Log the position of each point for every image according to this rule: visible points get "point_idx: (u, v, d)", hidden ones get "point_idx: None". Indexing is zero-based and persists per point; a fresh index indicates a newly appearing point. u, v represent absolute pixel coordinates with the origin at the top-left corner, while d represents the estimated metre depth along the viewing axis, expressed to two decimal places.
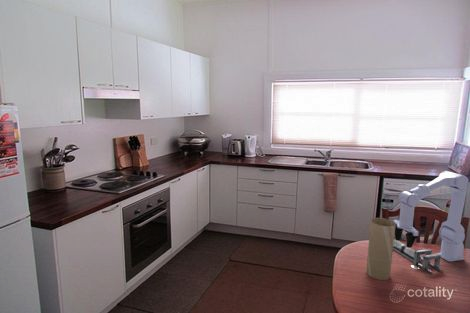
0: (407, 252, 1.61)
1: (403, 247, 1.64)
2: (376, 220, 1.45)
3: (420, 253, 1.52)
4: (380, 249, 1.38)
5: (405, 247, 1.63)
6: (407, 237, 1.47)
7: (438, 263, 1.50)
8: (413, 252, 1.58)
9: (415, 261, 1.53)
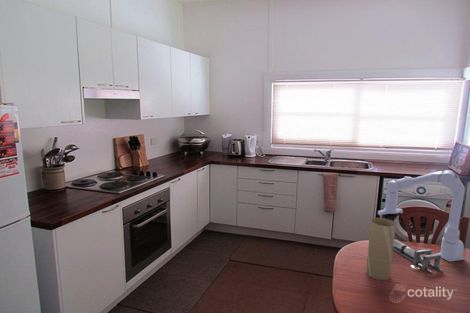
0: (407, 252, 1.61)
1: (403, 247, 1.64)
2: (376, 220, 1.45)
3: (420, 253, 1.52)
4: (380, 249, 1.38)
5: (405, 247, 1.63)
6: None
7: (438, 263, 1.50)
8: (413, 252, 1.58)
9: (415, 261, 1.53)
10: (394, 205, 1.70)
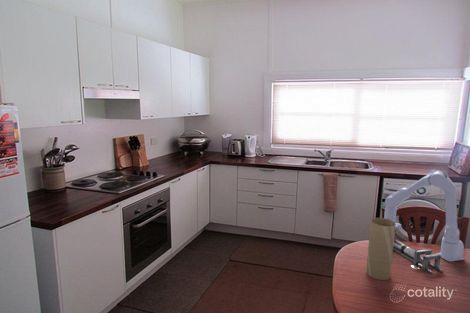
0: (407, 252, 1.61)
1: (403, 247, 1.64)
2: (376, 220, 1.45)
3: (420, 253, 1.52)
4: (380, 249, 1.38)
5: (405, 247, 1.63)
6: None
7: (438, 263, 1.50)
8: (413, 252, 1.58)
9: (415, 261, 1.53)
10: (393, 220, 1.71)
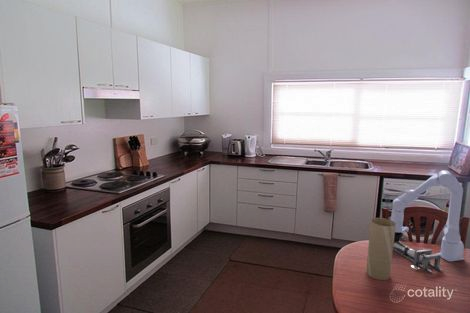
0: (410, 254, 1.59)
1: (406, 249, 1.62)
2: (376, 220, 1.45)
3: (420, 253, 1.52)
4: (380, 249, 1.38)
5: (408, 249, 1.61)
6: None
7: (438, 263, 1.50)
8: None
9: (415, 261, 1.53)
10: (400, 224, 1.67)
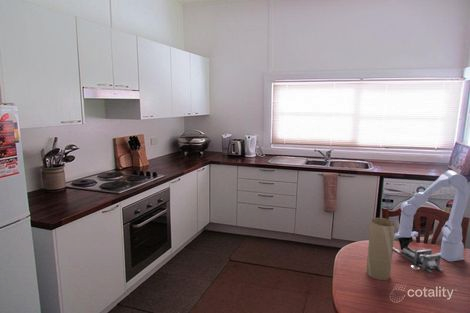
0: (421, 260, 1.53)
1: None
2: (376, 220, 1.45)
3: (420, 253, 1.52)
4: (380, 249, 1.38)
5: None
6: None
7: (438, 263, 1.50)
8: (428, 260, 1.50)
9: (415, 261, 1.53)
10: (409, 228, 1.61)
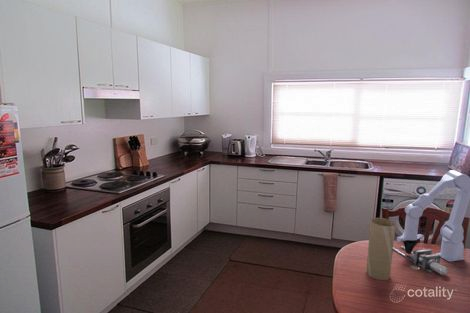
0: (431, 266, 1.48)
1: None
2: (376, 220, 1.45)
3: (420, 253, 1.52)
4: (380, 249, 1.38)
5: (428, 260, 1.50)
6: None
7: None
8: (439, 266, 1.45)
9: (415, 261, 1.53)
10: (415, 231, 1.57)
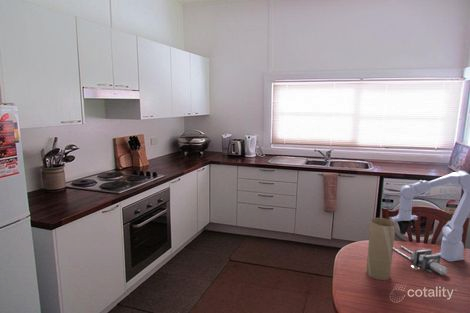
0: (431, 266, 1.48)
1: None
2: (376, 220, 1.45)
3: (420, 253, 1.52)
4: (380, 249, 1.38)
5: (428, 260, 1.50)
6: None
7: None
8: (439, 266, 1.45)
9: (415, 261, 1.53)
10: (409, 212, 1.61)
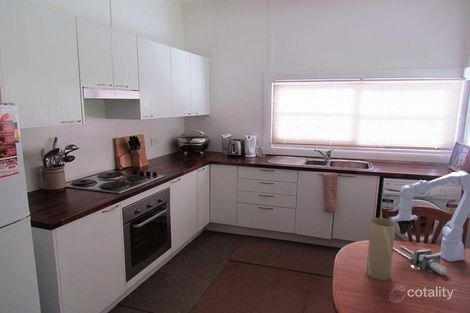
0: (431, 266, 1.48)
1: None
2: (376, 220, 1.45)
3: (420, 253, 1.52)
4: (380, 249, 1.38)
5: (428, 260, 1.50)
6: None
7: None
8: (438, 266, 1.45)
9: (415, 261, 1.53)
10: (409, 212, 1.61)
